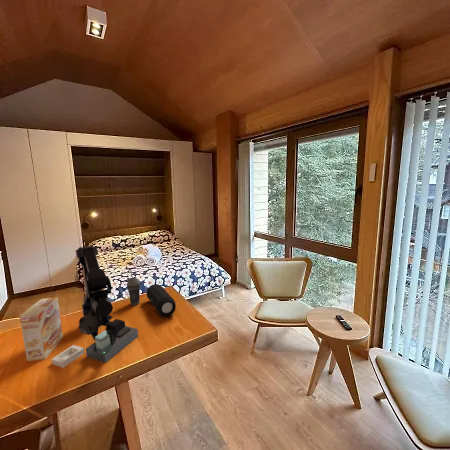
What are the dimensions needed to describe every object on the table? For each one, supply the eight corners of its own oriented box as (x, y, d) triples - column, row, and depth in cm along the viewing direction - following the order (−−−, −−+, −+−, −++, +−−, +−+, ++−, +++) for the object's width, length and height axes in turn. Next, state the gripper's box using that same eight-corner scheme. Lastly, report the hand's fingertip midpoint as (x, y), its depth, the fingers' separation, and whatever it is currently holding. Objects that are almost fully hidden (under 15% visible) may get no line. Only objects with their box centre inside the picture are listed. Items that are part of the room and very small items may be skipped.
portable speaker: (146, 301, 146) (144, 284, 145) (162, 296, 151) (161, 281, 150) (159, 320, 125) (157, 302, 123) (177, 315, 130) (176, 297, 128)
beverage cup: (134, 307, 138) (131, 273, 135) (125, 304, 142) (122, 271, 139) (144, 302, 144) (141, 269, 141) (136, 299, 148) (133, 267, 145)
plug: (97, 355, 99) (94, 337, 98) (107, 347, 104) (105, 330, 102) (103, 357, 98) (101, 338, 97) (112, 349, 103) (111, 331, 101)
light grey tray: (52, 364, 95) (51, 359, 95) (74, 350, 104) (73, 344, 103) (63, 368, 93) (62, 362, 93) (84, 353, 101) (83, 348, 101)
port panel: (86, 357, 99) (85, 347, 98) (121, 332, 115) (120, 323, 114) (105, 364, 95) (104, 353, 94) (138, 337, 112) (137, 327, 111)
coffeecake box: (46, 360, 98) (38, 314, 95) (26, 362, 97) (18, 316, 94) (64, 337, 113) (58, 296, 109) (46, 339, 112) (40, 298, 108)
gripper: (63, 311, 94) (69, 349, 96) (100, 321, 87) (105, 361, 89) (89, 299, 104) (93, 333, 107) (124, 306, 97) (127, 342, 100)
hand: (104, 342), depth 100 cm, fingers open, 9 cm apart
